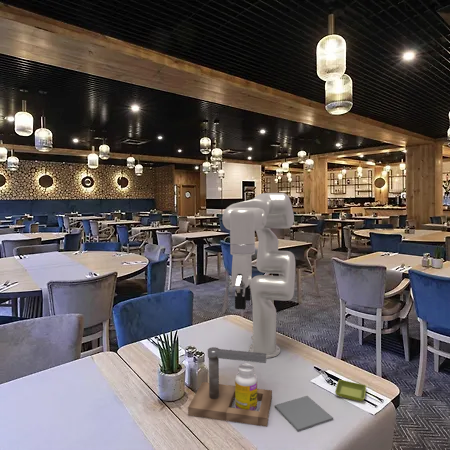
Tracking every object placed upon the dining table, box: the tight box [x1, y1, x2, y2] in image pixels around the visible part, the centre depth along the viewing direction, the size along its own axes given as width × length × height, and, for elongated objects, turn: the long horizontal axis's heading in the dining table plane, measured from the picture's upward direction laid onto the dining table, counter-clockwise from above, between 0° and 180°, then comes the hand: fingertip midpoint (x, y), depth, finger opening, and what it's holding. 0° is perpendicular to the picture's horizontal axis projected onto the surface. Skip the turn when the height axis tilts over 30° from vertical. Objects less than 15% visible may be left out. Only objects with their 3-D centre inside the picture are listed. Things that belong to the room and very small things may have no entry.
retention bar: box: [207, 346, 268, 364], centre depth 103 cm, size 18×4×2 cm, turn 76°
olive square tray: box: [334, 379, 367, 403], centre depth 110 cm, size 9×9×2 cm
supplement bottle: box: [234, 363, 258, 411], centre depth 103 cm, size 7×7×13 cm
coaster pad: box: [274, 395, 334, 432], centre depth 101 cm, size 12×12×1 cm
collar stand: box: [187, 358, 273, 427], centre depth 104 cm, size 23×14×15 cm, turn 76°
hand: (243, 304), depth 107 cm, fingers open, 8 cm apart
